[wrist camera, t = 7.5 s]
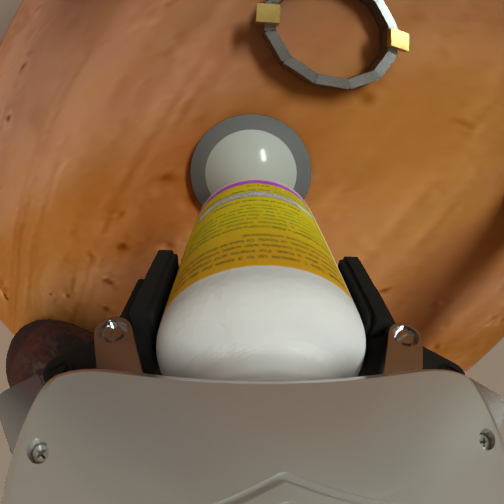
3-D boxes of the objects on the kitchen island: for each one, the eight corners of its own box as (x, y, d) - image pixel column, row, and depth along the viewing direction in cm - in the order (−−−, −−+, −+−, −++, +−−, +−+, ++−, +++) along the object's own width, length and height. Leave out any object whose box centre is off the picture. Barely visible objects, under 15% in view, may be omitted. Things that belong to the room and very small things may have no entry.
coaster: (314, 118, 26) (317, 119, 25) (302, 227, 32) (304, 231, 31) (192, 113, 25) (190, 113, 25) (193, 223, 31) (192, 227, 30)
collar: (394, -3, 18) (407, -9, 15) (391, 100, 24) (405, 101, 22) (258, -30, 18) (259, -42, 15) (252, 79, 24) (253, 77, 21)
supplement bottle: (179, 196, 15) (65, 412, 4) (296, 159, 15) (425, 359, 3) (221, 290, 19) (202, 495, 7) (322, 262, 18) (389, 467, 7)
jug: (172, 348, 42) (143, 504, 20) (129, 404, 52) (106, 505, 30) (35, 269, 34) (-54, 394, 13) (29, 350, 44) (-16, 442, 23)
